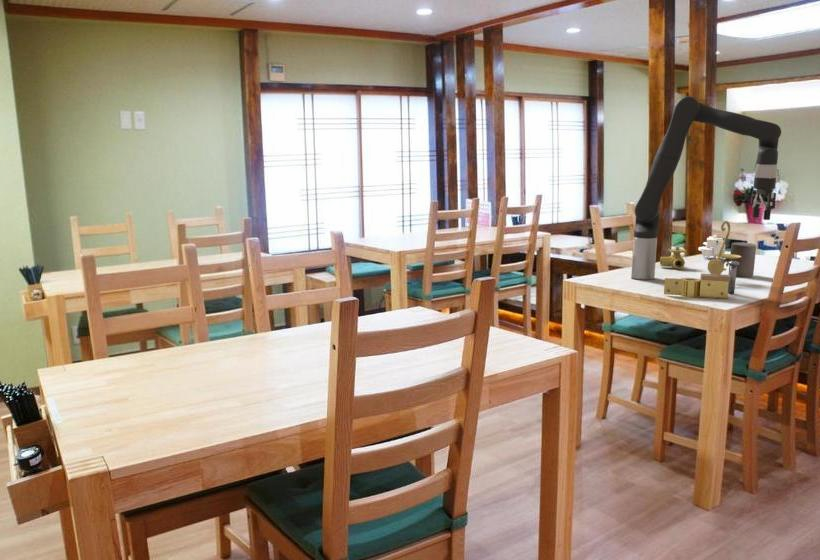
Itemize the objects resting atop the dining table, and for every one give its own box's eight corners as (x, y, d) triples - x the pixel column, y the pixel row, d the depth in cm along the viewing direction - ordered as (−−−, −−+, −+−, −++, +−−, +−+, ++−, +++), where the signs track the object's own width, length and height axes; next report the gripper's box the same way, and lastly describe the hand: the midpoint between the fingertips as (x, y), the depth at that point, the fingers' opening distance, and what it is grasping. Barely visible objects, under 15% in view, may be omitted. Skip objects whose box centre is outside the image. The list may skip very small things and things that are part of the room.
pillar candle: (724, 275, 288) (728, 240, 285) (733, 272, 294) (736, 238, 292) (748, 278, 281) (752, 243, 278) (756, 275, 288) (760, 240, 285)
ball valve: (687, 270, 301) (688, 248, 299) (663, 270, 303) (664, 248, 301) (680, 266, 313) (682, 244, 311) (657, 265, 315) (658, 244, 313)
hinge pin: (726, 294, 250) (729, 262, 248) (725, 292, 253) (727, 261, 251) (737, 294, 249) (739, 263, 247) (735, 293, 252) (738, 261, 250)
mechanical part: (704, 256, 341) (706, 233, 338) (728, 259, 332) (730, 235, 329) (693, 258, 334) (695, 234, 331) (717, 261, 324) (719, 237, 322)
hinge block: (663, 295, 248) (665, 274, 246) (663, 292, 254) (664, 271, 253) (727, 299, 241) (729, 277, 240) (725, 295, 248) (727, 274, 246)
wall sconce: (725, 285, 266) (730, 222, 261) (702, 282, 273) (707, 220, 269) (743, 281, 274) (749, 220, 269) (721, 278, 281) (726, 218, 277)
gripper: (746, 175, 266) (742, 216, 269) (764, 177, 252) (760, 220, 255) (765, 175, 265) (761, 216, 269) (785, 177, 251) (780, 220, 255)
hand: (760, 218), depth 262 cm, fingers open, 8 cm apart
